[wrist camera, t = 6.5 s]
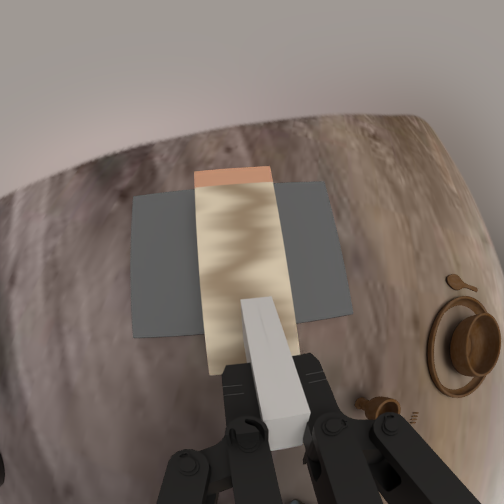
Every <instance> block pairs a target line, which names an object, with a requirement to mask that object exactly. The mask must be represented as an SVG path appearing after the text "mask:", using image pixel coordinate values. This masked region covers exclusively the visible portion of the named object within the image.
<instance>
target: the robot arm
mask: <svg viewBox="0 0 504 504" xmlns="http://www.w3.org/2000/svg"><path fill="white" fill-rule="evenodd" d="M240 301H241V315H242V329H243V342H244V348H245V353H246V359H247V363H242V364H232V365H226V366H225V369H224V371H223V373H222V385H223V395H224V406H225V416H226V426H227V427H226V431H225V436H224V438H223V439H222V441H220V442H219V443H218V444H216V445H214V446H212V447H210V448H207V449H204V450H201V451H195V450H193V449H184V450H181V451H178V452H176V453H175V454H174V455H173V456H172V457H171V459H170V460H169V462H168V466H167V469H166V472H165V476H164V479H163V483H162V486H161V490H160V493H159V496H158V500H157V503H156V504H217V500H218V495H219V492H221V491H224V490H226V489H229V488H232V487H233V491H234V499H235V504H282V500H281V495H280V491H279V487H278V482H277V478H276V473H275V469H274V464H273V460H272V455H271V451H274V450H280V449H286V448H291V447H296V446H301V445H302V443H303V442H304V445H305V449H306V452H305V455H304V458H303V464H306V463H307V466H308V470H309V473H310V477H311V480H312V484H313V487H314V491H315V494H316V498H317V501H318V504H383V502H382V499H381V497H380V494H381V495H382V496H383V497H384V499H385V500H386V501H387V503H388V504H481V503H480V502H479V501H478V500H477V499H476V498H475V496H474V495H473V494H472V493H471V492H470V491H469V490H468V489H467V488H466V486H465V485H464V484H463V483H462V482H461V481H460V480H459V479H458V477H457V476H456V475H455V474H454V473H453V472H452V471H451V470H450V469H449V467H448V466H447V465H446V464H445V463H444V462H443V461H442V460H441V459H440V457H439V456H438V455H437V454H436V453H435V452H434V451H433V450H432V449H431V447H430V446H429V445H428V444H427V443H426V442H425V441H424V440H423V439H422V437H421V436H420V435H419V434H418V433H417V432H416V431H415V430H414V429H413V427H412V426H411V425H410V424H409V423H408V422H407V421H406V420H405V419H404V418H403V417H402V416H401V415H399V414H397V413H394V412H386V413H383V414H381V415H380V416H378V417H377V418H376V420H357V419H352V418H349V417H347V416H346V415H344V414H343V413H342V412H341V411H340V409H339V407H338V405H337V403H336V400H335V398H334V395H333V393H332V391H331V388H330V386H329V383H328V381H327V380H326V376H325V374H324V372H323V369H322V367H321V364H320V362H319V360H318V359H317V358H316V357H314V356H313V355H312V354H311V353H307V354H301V355H295V356H292V355H291V352H290V349H289V346H288V343H287V340H286V337H285V334H284V331H283V328H282V325H281V322H280V319H279V316H278V313H277V311H276V308H275V305H274V302H273V299H272V296H269V297H260V298H250V299H241V300H240ZM3 481H4V468H3V462H2V458H1V455H0V486H1V485H2V484H3ZM378 491H379V492H380V494H379V492H378Z"/></svg>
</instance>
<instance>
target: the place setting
mask: <svg viewBox="0 0 504 504" xmlns="http://www.w3.org/2000/svg"><path fill="white" fill-rule="evenodd" d="M447 282H448V284H449V285H450V286H451V287H452V288H453V289H455V290H460V289H462V288H468V289H470V290H473V291H475V292H477V288H476V287H473V286H470V285H468V284H466V283H464V282H463V281H462V280H461V278H460V277H459V276H458V275H456V274H451V275H449V276H448V277H447ZM457 305H462V306H466V307H468V308H470V309H471V310H472V311H473V312H474V313H475V314H476V315H473V316H470V317H468V318H466V319H464V320H463V321H462V322H461V323H460V324H459V325H458V326H457V328H456V329H455V331H454V333H453V336H452V340H451V345H450V355H451V360H452V363H453V365H454V367H455V369H456V370H457V371H458V372H459V373H460V374H462V375H465V376H471V377H474V378H473V379H472V380H471V381H470V382H469V383H468V384H467V385H466V386H464V387H462V388H460V389H456V390H452V389H448V388H446V387H444V386H443V385H442V384H441V383H440V381H439V379H438V376H437V374H436V370H435V364H434V342H435V336H436V332H437V328H438V325H439V323H440V320H441V318H442V316H443V315H444V313H445V312H446V311H447V310H448V309H450V308H452V307H454V306H457ZM500 348H501V334H500V329H499V326H498V324H497V322H496V320H495V318H494V317H493V316H492V315H490V314H488V313H487V311H486V309H485V308H484V306H483V305H482V304H481V303H480V302H479V301H478V300H476V299H475V298H472V297H469V296H461V297H458V298H455V299H453V300H452V301H450V302H449V303H447V304H446V305H445V306H444V307H443V308H442V310H441V311H440V312H439V314H438V316H437V317H436V319H435V321H434V323H433V326H432V329H431V332H430V336H429V342H428V365H429V370H430V374H431V377H432V379H433V381H434V383H435V385H436V386H437V388H438V389H439V390H440V391H441V392H442V393H444V394H446V395H447V396H450V397H454V398H461V397H465V396H467V395H469V394H471V393H472V392H474V391H475V390H476V389H477V388H478V387H479V386H480V384H481V383H482V382H483V380H484V379H485V377H486V375H487V374H488V373H490V372H491V371H492V369H493V368H494V366H495V365H496V363H497V360H498V357H499V354H500ZM355 407H356V408H357V409H362V410H364V411H365V415H366V417H367V418H368V419H369V420H376V418H377V417H378V416H380V415H381V414H383V413H386V412H394V413H397V414H399V415H400V411H401V408H400V404H399V402H398V401H396V400H394V399H391V398H387V397H375V398H373V399H371V400H370V401H369V400H366V399H365V398H362V397H361V398H358V399H357V400H356V402H355ZM418 413H419V412H415V413H413V414H418ZM412 417H418V416H417V415H416V416H412ZM411 420H417V419H411ZM411 423H416V422H411Z"/></svg>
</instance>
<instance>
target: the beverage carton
mask: <svg viewBox="0 0 504 504" xmlns="http://www.w3.org/2000/svg"><path fill="white" fill-rule="evenodd" d="M290 504H304V503H302V502H300V501H298V500H293V501H292V502H291V503H290Z"/></svg>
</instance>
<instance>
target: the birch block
mask: <svg viewBox="0 0 504 504" xmlns="http://www.w3.org/2000/svg"><path fill="white" fill-rule="evenodd" d="M194 178H195V207H196V229H197V246H198V262H199V276H200V289H201V300H202V311H203V322H204V332H205V341H206V350H207V359H208V367H209V375H221V374H222V373H223V371H224V369H225V366H226V365H232V364H242V363H247V359H246V353H245V348H244V342H243V329H242V315H241V301H240V300H241V299H250V298H260V297H269V296H272V299H273V302H274V305H275V308H276V311H277V313H278V316H279V319H280V322H281V325H282V328H283V331H284V334H285V337H286V340H287V343H288V346H289V349H290V352H291V355H292V356H295V355H300V349H299V341H298V334H297V327H296V320H295V313H294V306H293V299H292V293H291V286H290V280H289V273H288V267H287V261H286V255H285V248H284V242H283V236H282V231H281V225H280V219H279V213H278V208H277V202H276V196H275V191H274V185H273V180H272V175H271V169H270V166H264V167H245V168H230V169H217V170H206V171H195V172H194Z"/></svg>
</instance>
